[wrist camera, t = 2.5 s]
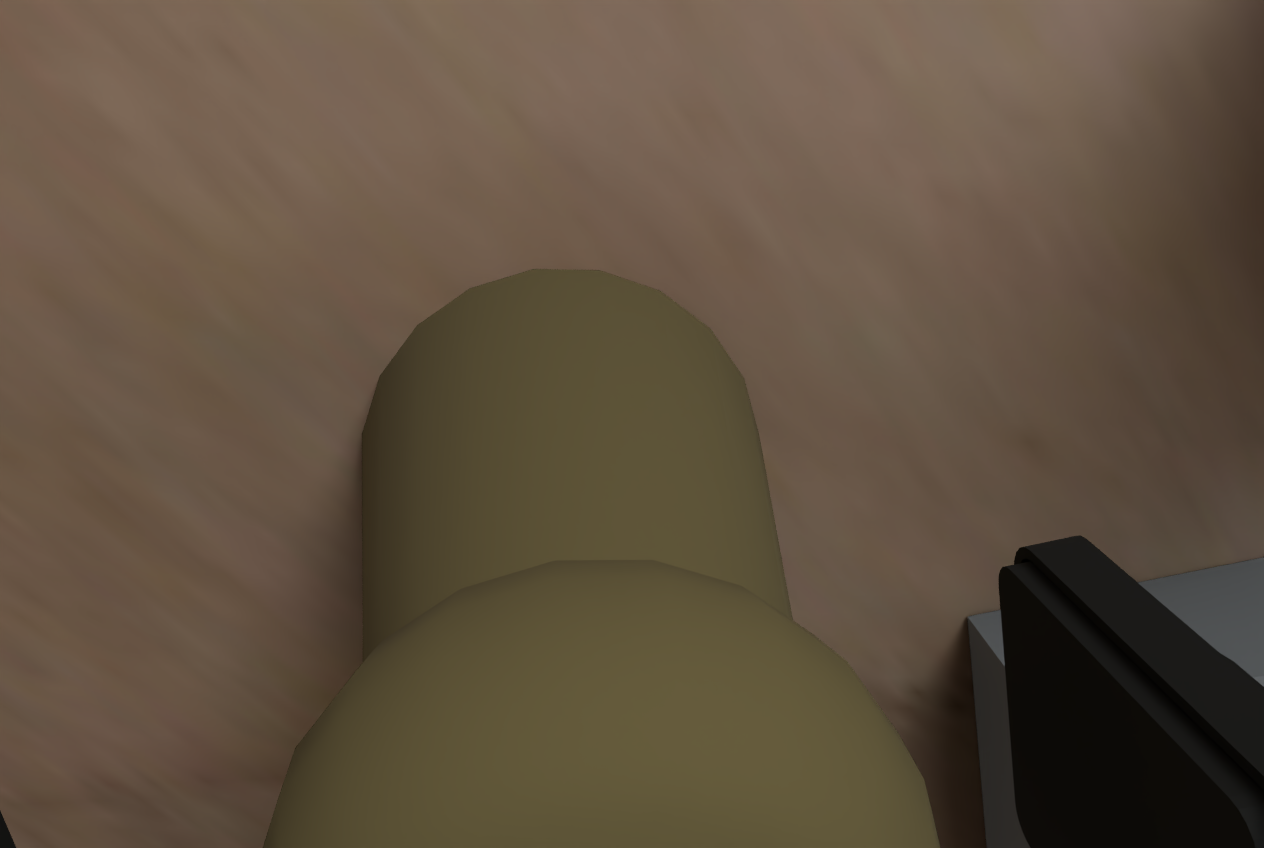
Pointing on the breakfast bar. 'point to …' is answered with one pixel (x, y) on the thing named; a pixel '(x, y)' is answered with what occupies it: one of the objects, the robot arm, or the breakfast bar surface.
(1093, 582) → the robot arm
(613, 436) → the cork
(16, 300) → the breakfast bar surface
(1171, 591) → the tray
